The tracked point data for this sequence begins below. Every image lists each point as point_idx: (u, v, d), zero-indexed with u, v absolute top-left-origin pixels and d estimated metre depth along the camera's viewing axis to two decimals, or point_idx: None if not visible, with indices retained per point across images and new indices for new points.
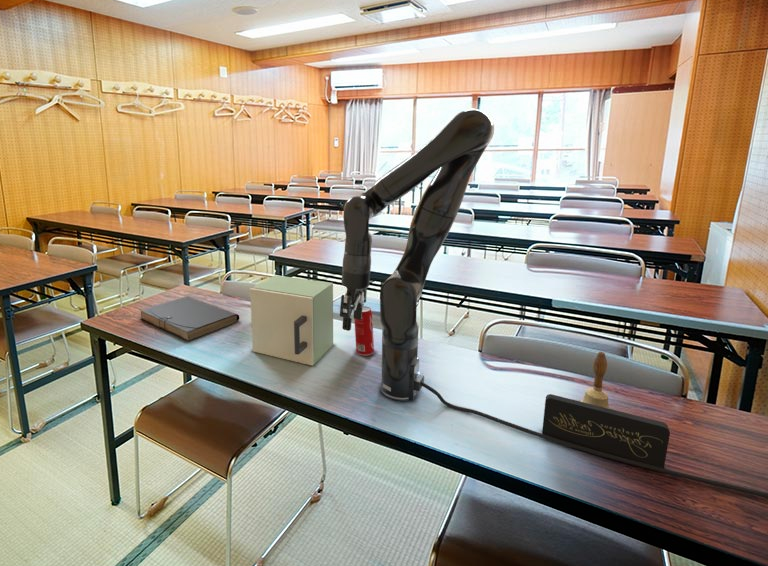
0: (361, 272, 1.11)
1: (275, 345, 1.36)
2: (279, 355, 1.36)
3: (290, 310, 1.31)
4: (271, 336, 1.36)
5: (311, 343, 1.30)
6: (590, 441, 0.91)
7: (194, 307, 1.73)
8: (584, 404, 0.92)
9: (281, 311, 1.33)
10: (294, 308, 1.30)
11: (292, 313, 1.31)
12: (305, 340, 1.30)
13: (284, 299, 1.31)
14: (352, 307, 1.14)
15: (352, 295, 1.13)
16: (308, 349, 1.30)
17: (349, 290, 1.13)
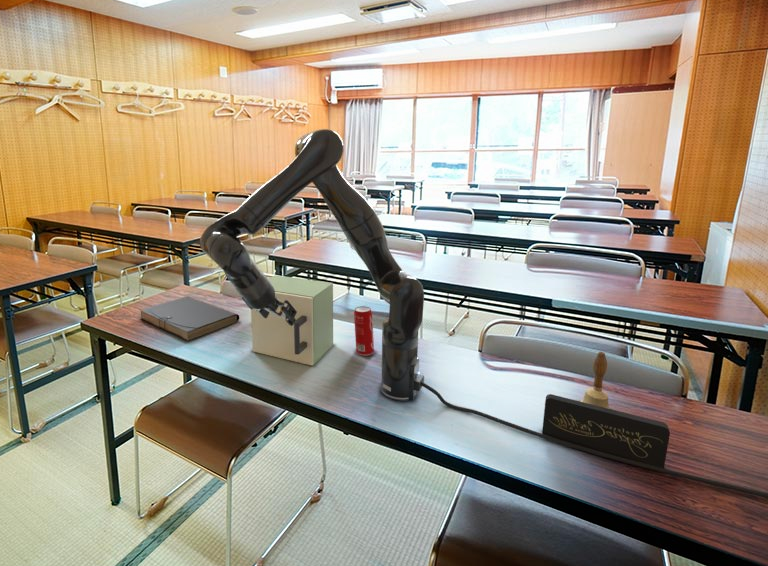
0: (267, 280, 1.03)
1: (275, 345, 1.36)
2: (279, 355, 1.36)
3: None
4: (271, 336, 1.36)
5: (311, 343, 1.30)
6: (590, 441, 0.91)
7: (194, 307, 1.73)
8: (584, 404, 0.92)
9: None
10: (294, 308, 1.30)
11: None
12: (305, 340, 1.30)
13: (284, 299, 1.31)
14: None
15: (278, 300, 1.06)
16: (308, 349, 1.30)
17: (274, 301, 1.05)
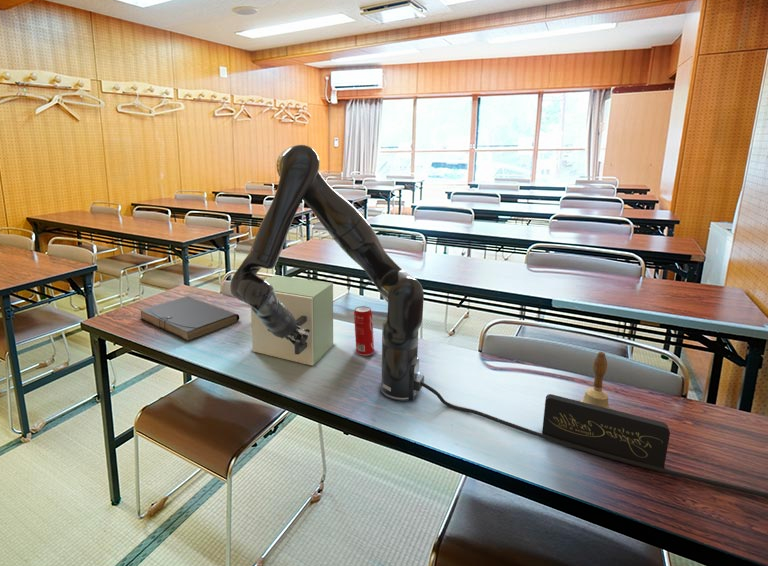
0: (289, 311, 1.14)
1: (275, 345, 1.36)
2: (279, 355, 1.36)
3: (290, 310, 1.31)
4: (271, 336, 1.36)
5: (311, 343, 1.30)
6: (590, 441, 0.91)
7: (194, 307, 1.73)
8: (584, 404, 0.92)
9: None
10: (294, 308, 1.30)
11: (292, 313, 1.31)
12: None
13: (284, 299, 1.31)
14: None
15: (299, 327, 1.17)
16: (308, 349, 1.30)
17: (295, 328, 1.16)
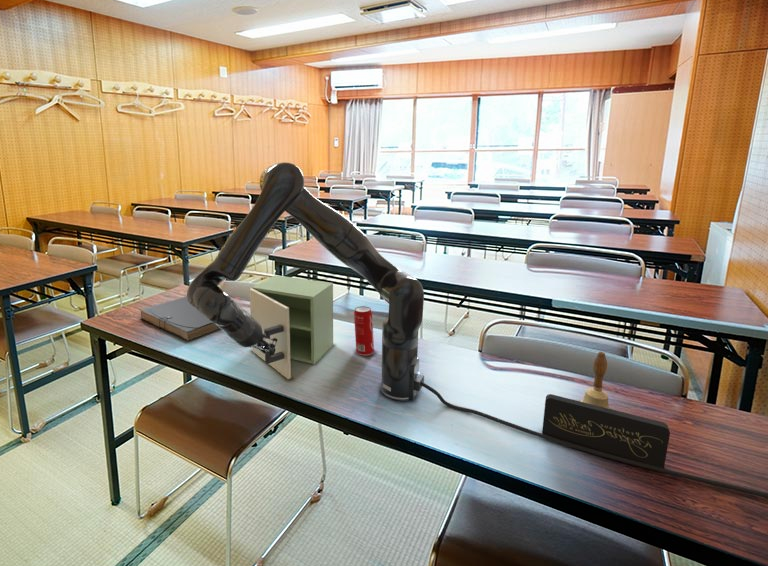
0: (253, 320, 1.09)
1: None
2: None
3: (273, 316, 1.26)
4: None
5: (287, 355, 1.22)
6: (590, 441, 0.91)
7: (194, 307, 1.73)
8: (584, 404, 0.92)
9: (268, 316, 1.29)
10: (275, 315, 1.25)
11: (274, 321, 1.26)
12: (283, 351, 1.24)
13: (269, 304, 1.27)
14: None
15: (266, 336, 1.12)
16: (285, 361, 1.23)
17: (261, 338, 1.11)
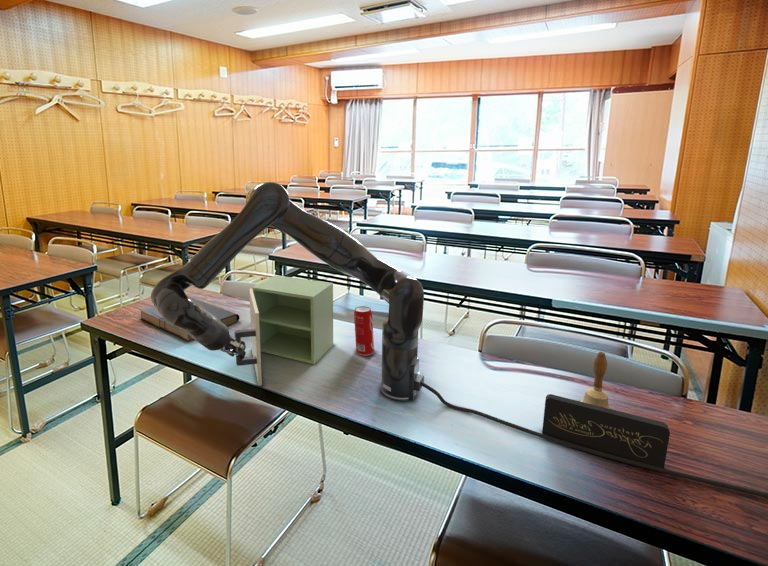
0: (220, 323, 1.08)
1: (253, 351, 1.32)
2: None
3: (253, 319, 1.24)
4: None
5: (257, 361, 1.19)
6: (590, 441, 0.91)
7: None
8: (584, 404, 0.92)
9: None
10: None
11: None
12: (256, 356, 1.21)
13: (252, 307, 1.25)
14: None
15: (233, 339, 1.11)
16: (257, 366, 1.21)
17: (229, 341, 1.10)
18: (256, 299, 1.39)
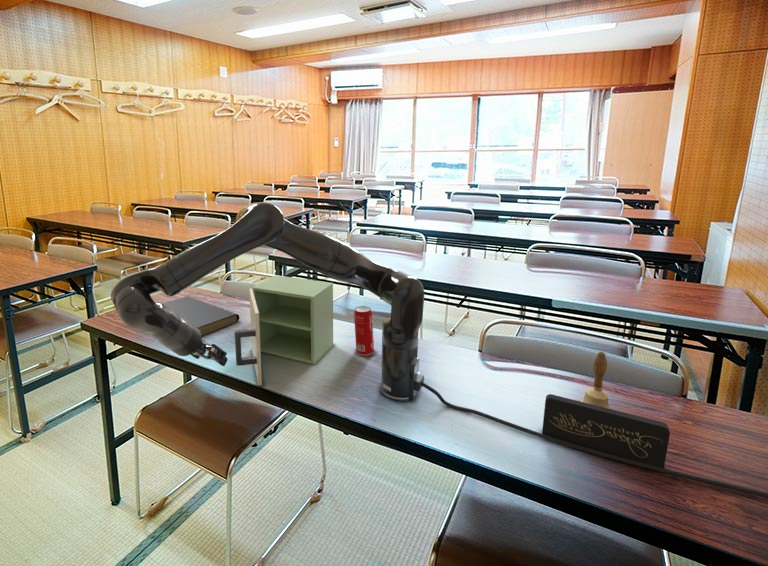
0: (191, 326, 0.99)
1: (253, 351, 1.32)
2: None
3: (253, 319, 1.24)
4: None
5: (257, 361, 1.19)
6: (590, 441, 0.91)
7: (194, 307, 1.73)
8: (584, 404, 0.92)
9: None
10: None
11: None
12: (256, 356, 1.21)
13: (252, 307, 1.25)
14: None
15: (206, 344, 1.02)
16: (257, 366, 1.21)
17: (200, 346, 1.01)
18: (256, 299, 1.39)
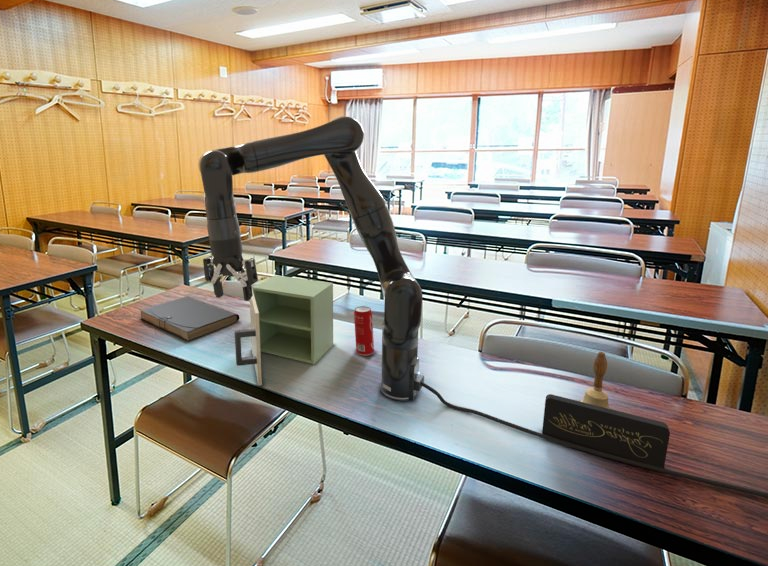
0: None
1: (253, 351, 1.32)
2: None
3: (253, 319, 1.24)
4: None
5: (257, 361, 1.19)
6: (590, 441, 0.91)
7: (194, 307, 1.73)
8: (584, 404, 0.92)
9: None
10: None
11: None
12: (256, 356, 1.21)
13: (252, 307, 1.25)
14: (245, 272, 1.03)
15: None
16: (257, 366, 1.21)
17: (239, 255, 1.01)
18: (256, 299, 1.39)
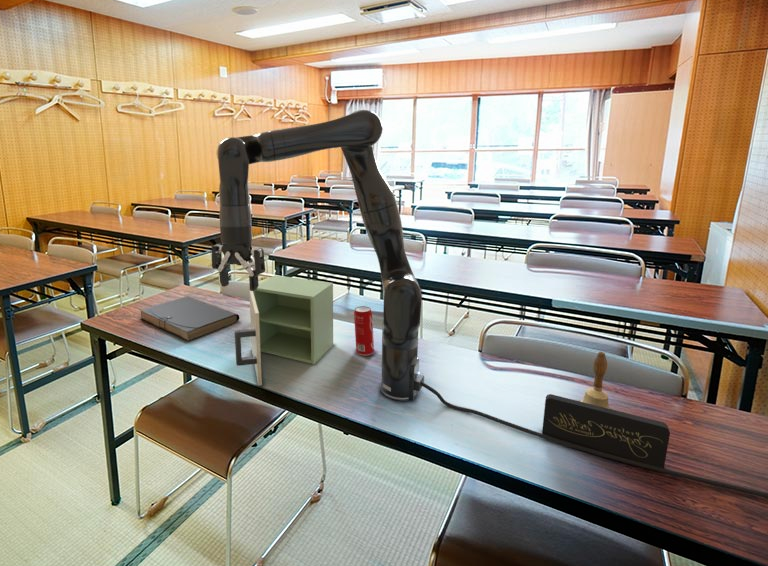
0: None
1: (253, 351, 1.32)
2: None
3: (253, 319, 1.24)
4: None
5: (257, 361, 1.19)
6: (590, 441, 0.91)
7: (194, 307, 1.73)
8: (584, 404, 0.92)
9: None
10: None
11: None
12: (256, 356, 1.21)
13: (252, 307, 1.25)
14: (253, 262, 1.03)
15: (252, 249, 1.02)
16: (257, 366, 1.21)
17: (249, 245, 1.01)
18: (256, 299, 1.39)
